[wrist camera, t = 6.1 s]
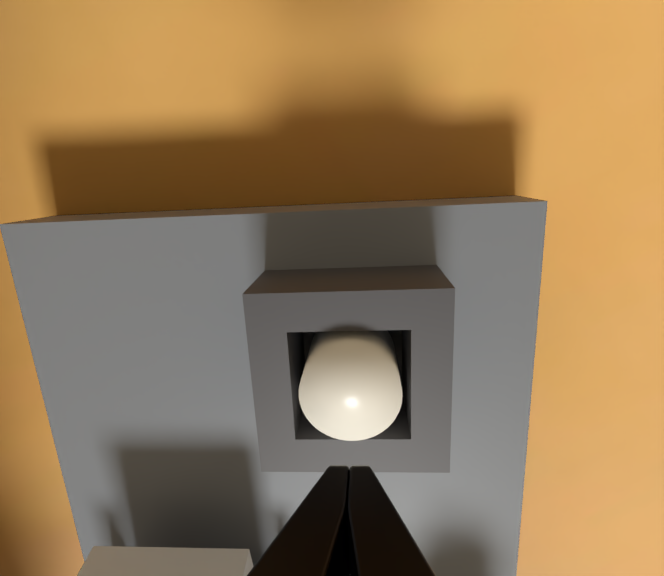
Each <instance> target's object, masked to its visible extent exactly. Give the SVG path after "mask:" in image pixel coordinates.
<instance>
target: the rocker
mask: <svg viewBox="0 0 664 576" xmlns="http://www.w3.org/2000/svg"><path fill="white" fill-rule="evenodd" d="M252 568H253V563H252V559H251V554H250V550H249V549H226V548H173V547H121V546H93V548H92V550H91V551H90V553H89V555H88V557H87V559H86V560H85V562H84V564H83V566H82V568H81V569H80V571H79V573H78V575H77V576H247V575H248V573H249V572H250V571H251V569H252Z"/></svg>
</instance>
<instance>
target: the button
mask: <svg viewBox="0 0 664 576" xmlns="http://www.w3.org/2000/svg"><path fill="white" fill-rule="evenodd" d="M402 396H403V395H402V386H401V381H400V375H399V370H398V364H397V359H396V353H395V348H394V343H393V340H392V338H391V336H390V334H389V332H388V331H387V330H379V331H330V332H316V333H315V335H314V337H313V339H312V343H311V346H310V350H309V353H308V357H307V360H306V363H305V367H304V370H303V374H302V377H301V381H300V384H299V402H300V405H301V409H302V411H303V413H304V415H305V416H306V418H307V419H308V421H309V422H310V423H311V424H312V425H313V426H314V427H315V428H316V429H318V430H319V431H320V432H322V433H324V434H325V435H327V436H330V437H332V438H336V439H339V440H345V441H359V440H365V439H368V438H371V437H374V436H376V435H378V434H380V433H381V432H383V431H384V430H386V429H387V428H388V427H389V426H390V425H391V424H392V423H393V421H394V420H395V419H396V417H397V415H398V413H399V411H400V408H401V404H402Z"/></svg>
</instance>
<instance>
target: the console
mask: <svg viewBox="0 0 664 576" xmlns="http://www.w3.org/2000/svg"><path fill="white" fill-rule="evenodd" d="M546 212H547V201H544V200H538V199H532V198H527V197H521V196H495V197H472V198H449V199H426V200H403V201H380V202H357V203H334V204H312V205H289V206H266V207H243V208H220V209H197V210H174V211H151V212H128V213H105V214H83V215H60V216H51V217H44V218H38V219H31V220H25V221H18V222H12V223H5V224H0V229H1V233H2V237H3V241H4V245H5V248H6V252H7V256H8V260H9V264H10V268H11V272H12V276H13V280H14V284H15V288H16V292H17V296H18V300H19V304H20V308H21V312H22V316H23V320H24V324H25V328H26V332H27V336H28V340H29V344H30V348H31V352H32V356H33V360H34V363H35V367H36V371H37V375H38V379H39V383H40V387H41V391H42V395H43V399H44V403H45V407H46V411H47V415H48V419H49V423H50V427H51V431H52V435H53V439H54V443H55V447H56V451H57V455H58V459H59V463H60V467H61V471H62V475H63V478H64V482H65V486H66V490H67V494H68V498H69V502H70V506H71V510H72V514H73V518H74V522H75V526H76V530H77V534H78V538H79V542H80V546H81V550H82V554H83V558H84V562H85V560H86V559H87V557H88V555H89V553H90V551H91V550H92V548H93V546H121V547H173V548H226V549H249V550H250V554H251V559H252V563H253V567H254V565H255V564H256V563H257V561H258V560H259V559H260V557H261V556H262V555H263V553H264V552H265V551H266V549H267V548H268V547H269V545H270V544H271V543H272V541H273V540H274V539H275V537H276V536H277V535H278V533H279V532H280V531H281V529H282V528H283V527H284V525H285V524H286V523H287V521H288V520H289V519H290V517H291V516H292V515H293V513H294V512H295V511H296V509H297V508H298V507H299V505H300V504H301V503H302V501H303V500H304V499H305V497H306V496H307V495H308V493H309V492H310V491H311V489H312V488H313V487H314V485H315V484H316V483H317V481H318V480H319V479H320V477H321V476H322V475H323V473H324V472H325V471H326V469H327V468H328V467H329V466H330V465H347V466H348V467H349V470H350V467H351V466H353V465H367V466H370V467H371V469H372V470H373V472H374V473H375V475H376V477H377V478H378V480H379V482H380V483H381V485H382V487H383V488H384V490H385V492H386V493H387V495H388V497H389V498H390V500H391V502H392V503H393V505H394V507H395V508H396V510H397V512H398V513H399V515H400V517H401V518H402V520H403V522H404V523H405V525H406V527H407V528H408V530H409V532H410V533H411V535H412V537H413V538H414V540H415V542H416V543H417V545H418V547H419V548H420V550H421V552H422V553H423V555H424V557H425V558H426V560H427V562H428V563H429V565H430V567H431V568H432V570H433V572H434V573H435V575H436V576H516V571H517V559H518V547H519V535H520V523H521V511H522V499H523V487H524V475H525V463H526V451H527V439H528V427H529V415H530V403H531V391H532V379H533V367H534V355H535V343H536V331H537V319H538V307H539V295H540V283H541V272H542V260H543V248H544V236H545V224H546ZM379 330H387V331H388V332H389V334H390V336H391V338H392V340H393V343H394V348H395V353H396V359H397V364H398V370H399V375H400V381H401V386H402V395H403V396H402V404H401V408H400V411H399V413H398V415H397V417H396V419H395V420H394V421H393V423H392V424H391V425H390V426H389V427H388V428H387V429H386V430H384V431H383V432H381V433H380V434H378V435H376V436H374V437H371V438H368V439H365V440H359V441H345V440H339V439H336V438H332V437H330V436H327V435H325V434H324V433H322V432H320V431H319V430H318V429H316V428H315V427H314V426H313V425H312V424H311V423H310V422H309V421H308V419H307V418H306V416H305V415H304V413H303V411H302V409H301V405H300V402H299V384H300V381H301V377H302V374H303V370H304V367H305V363H306V360H307V357H308V353H309V350H310V346H311V343H312V339H313V337H314V335H315V333H316V332H330V331H379Z"/></svg>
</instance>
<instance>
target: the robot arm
mask: <svg viewBox="0 0 664 576" xmlns="http://www.w3.org/2000/svg"><path fill="white" fill-rule="evenodd" d="M247 576H436V575H435V573H434V572H433V570H432V568H431V567H430V565H429V563H428V562H427V560H426V558H425V557H424V555H423V553H422V552H421V550H420V548H419V547H418V545H417V543H416V542H415V540H414V538H413V537H412V535H411V533H410V532H409V530H408V528H407V527H406V525H405V523H404V522H403V520H402V518H401V517H400V515H399V513H398V512H397V510H396V508H395V507H394V505H393V503H392V502H391V500H390V498H389V497H388V495H387V493H386V492H385V490H384V488H383V487H382V485H381V483H380V482H379V480H378V478H377V477H376V475H375V473H374V472H373V470H372V469H371V467H370V466H367V465H353V466H351V467H350V470H349V467H348V466H347V465H330V466H329V467H328V468H327V469H326V471H325V472H324V473H323V475H322V476H321V477H320V479H319V480H318V481H317V483H316V484H315V485H314V487H313V488H312V489H311V491H310V492H309V493H308V495H307V496H306V497H305V499H304V500H303V501H302V503H301V504H300V505H299V507H298V508H297V509H296V511H295V512H294V513H293V515H292V516H291V517H290V519H289V520H288V521H287V523H286V524H285V525H284V527H283V528H282V529H281V531H280V532H279V533H278V535H277V536H276V537H275V539H274V540H273V541H272V543H271V544H270V545H269V547H268V548H267V549H266V551H265V552H264V553H263V555H262V556H261V557H260V559H259V560H258V561H257V563H256V564H255V565H254V567H253V568H252V569H251V571H250V572H249V573H248V575H247Z"/></svg>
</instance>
